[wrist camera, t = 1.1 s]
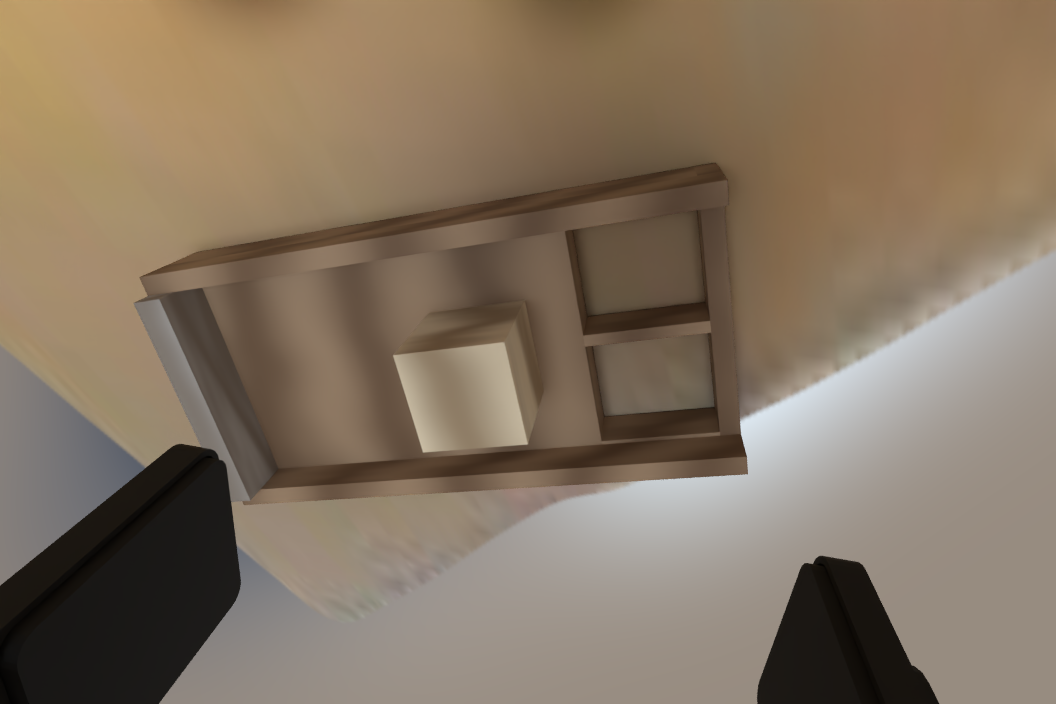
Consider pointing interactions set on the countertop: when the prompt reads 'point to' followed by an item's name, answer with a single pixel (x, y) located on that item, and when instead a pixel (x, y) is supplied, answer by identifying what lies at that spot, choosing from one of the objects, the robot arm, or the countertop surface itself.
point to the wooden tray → (394, 313)
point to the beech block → (472, 377)
